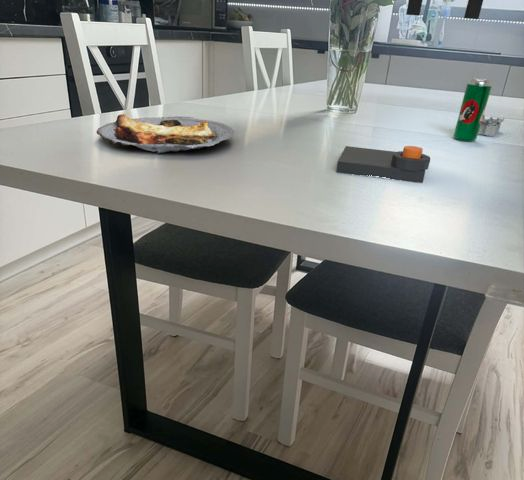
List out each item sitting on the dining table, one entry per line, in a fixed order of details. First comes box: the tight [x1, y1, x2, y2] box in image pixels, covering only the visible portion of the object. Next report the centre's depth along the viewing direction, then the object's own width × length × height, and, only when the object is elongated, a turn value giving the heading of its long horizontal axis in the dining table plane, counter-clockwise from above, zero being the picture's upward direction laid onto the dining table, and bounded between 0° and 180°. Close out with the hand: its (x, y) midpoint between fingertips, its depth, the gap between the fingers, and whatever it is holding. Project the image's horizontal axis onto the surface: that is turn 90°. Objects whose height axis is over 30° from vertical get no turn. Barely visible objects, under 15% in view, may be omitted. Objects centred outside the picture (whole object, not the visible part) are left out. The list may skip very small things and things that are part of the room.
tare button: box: [402, 145, 423, 159], centre depth 77 cm, size 3×3×2 cm
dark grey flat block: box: [335, 145, 431, 184], centre depth 82 cm, size 14×12×4 cm
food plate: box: [96, 113, 235, 154], centre depth 90 cm, size 25×23×4 cm
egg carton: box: [478, 114, 506, 137], centre depth 117 cm, size 11×8×4 cm
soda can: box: [453, 77, 493, 143], centre depth 106 cm, size 5×5×12 cm
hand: (440, 17), depth 85 cm, fingers open, 13 cm apart
